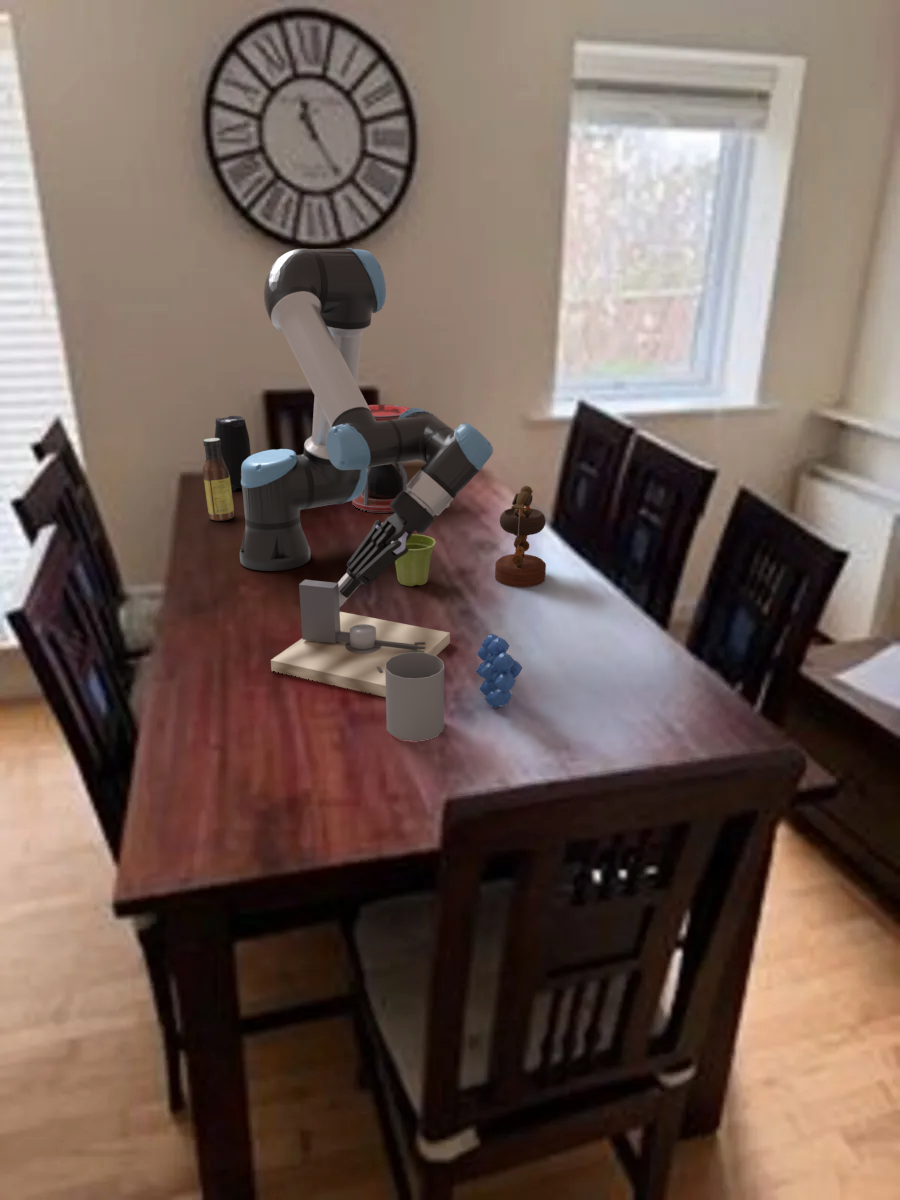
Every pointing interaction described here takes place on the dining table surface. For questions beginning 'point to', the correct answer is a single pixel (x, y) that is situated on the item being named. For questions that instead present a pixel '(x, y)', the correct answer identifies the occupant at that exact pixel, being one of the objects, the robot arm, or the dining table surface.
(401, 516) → the robot arm
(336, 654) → the dial plate
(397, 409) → the hourglass
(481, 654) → the grapes
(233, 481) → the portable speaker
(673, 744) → the dining table surface
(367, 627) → the lever dial gauge
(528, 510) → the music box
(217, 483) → the sauce bottle
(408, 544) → the plant pot
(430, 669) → the cup
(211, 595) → the dining table surface
